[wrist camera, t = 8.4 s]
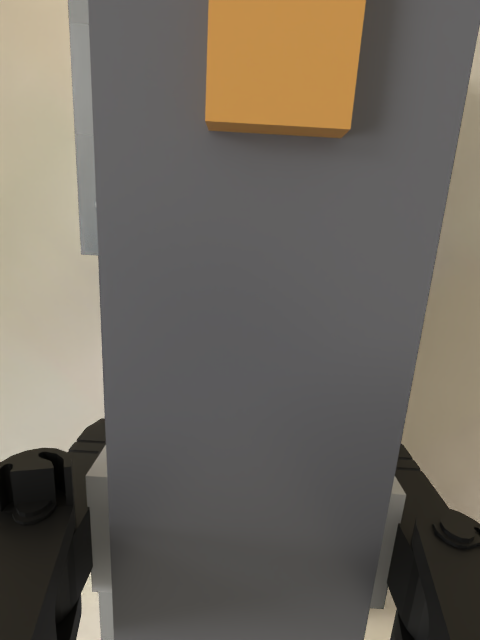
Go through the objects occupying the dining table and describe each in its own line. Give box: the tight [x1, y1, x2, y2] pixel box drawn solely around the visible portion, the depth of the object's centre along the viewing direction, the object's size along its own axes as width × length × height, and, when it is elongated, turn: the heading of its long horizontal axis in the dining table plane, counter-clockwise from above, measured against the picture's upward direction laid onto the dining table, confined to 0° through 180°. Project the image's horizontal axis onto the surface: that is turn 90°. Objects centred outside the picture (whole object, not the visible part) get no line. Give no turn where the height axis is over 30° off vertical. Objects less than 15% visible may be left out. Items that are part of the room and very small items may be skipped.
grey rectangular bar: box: [88, 0, 480, 640], centre depth 10 cm, size 4×22×8 cm, turn 177°
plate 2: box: [68, 0, 98, 255], centre depth 10 cm, size 9×6×3 cm, turn 87°
